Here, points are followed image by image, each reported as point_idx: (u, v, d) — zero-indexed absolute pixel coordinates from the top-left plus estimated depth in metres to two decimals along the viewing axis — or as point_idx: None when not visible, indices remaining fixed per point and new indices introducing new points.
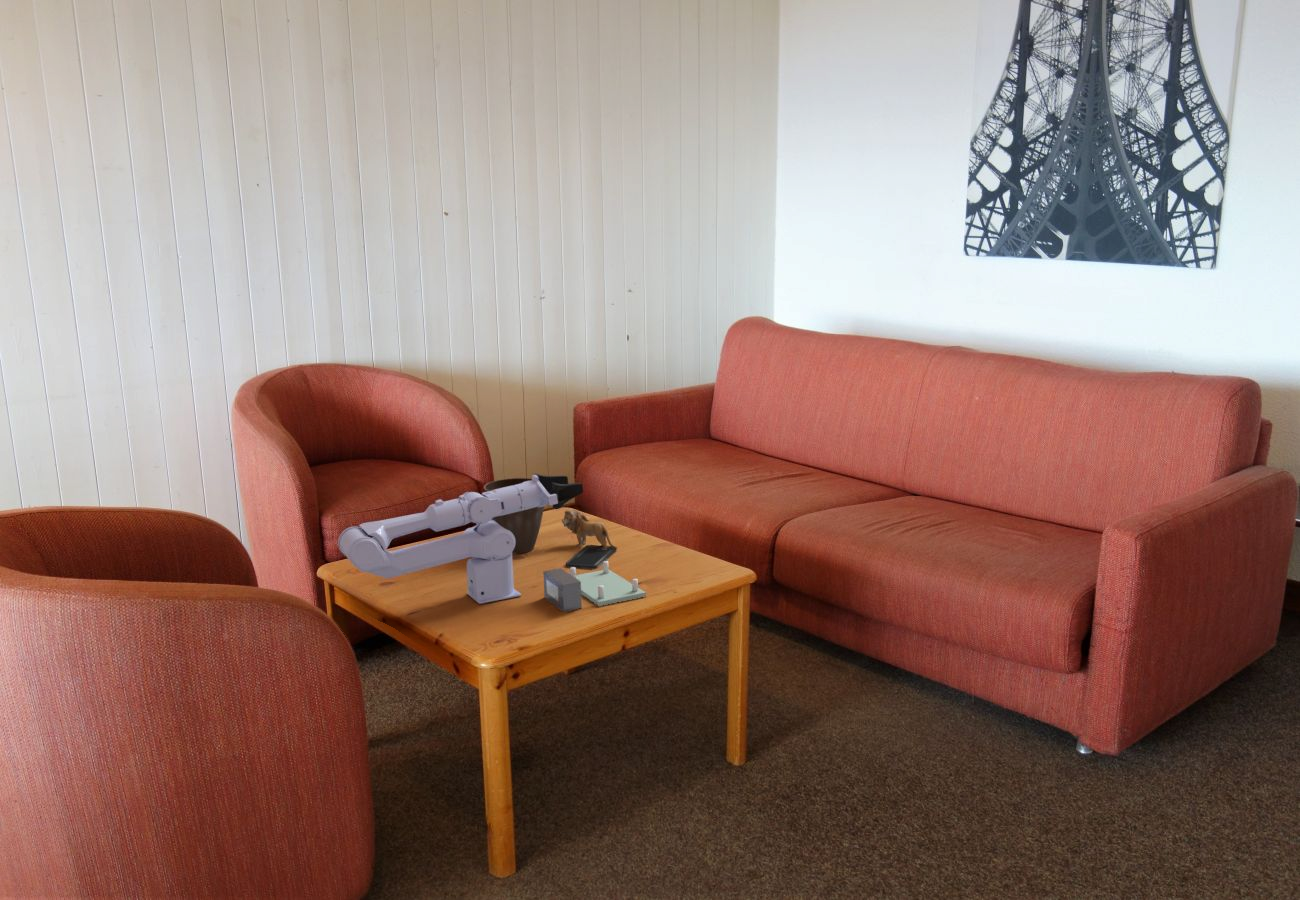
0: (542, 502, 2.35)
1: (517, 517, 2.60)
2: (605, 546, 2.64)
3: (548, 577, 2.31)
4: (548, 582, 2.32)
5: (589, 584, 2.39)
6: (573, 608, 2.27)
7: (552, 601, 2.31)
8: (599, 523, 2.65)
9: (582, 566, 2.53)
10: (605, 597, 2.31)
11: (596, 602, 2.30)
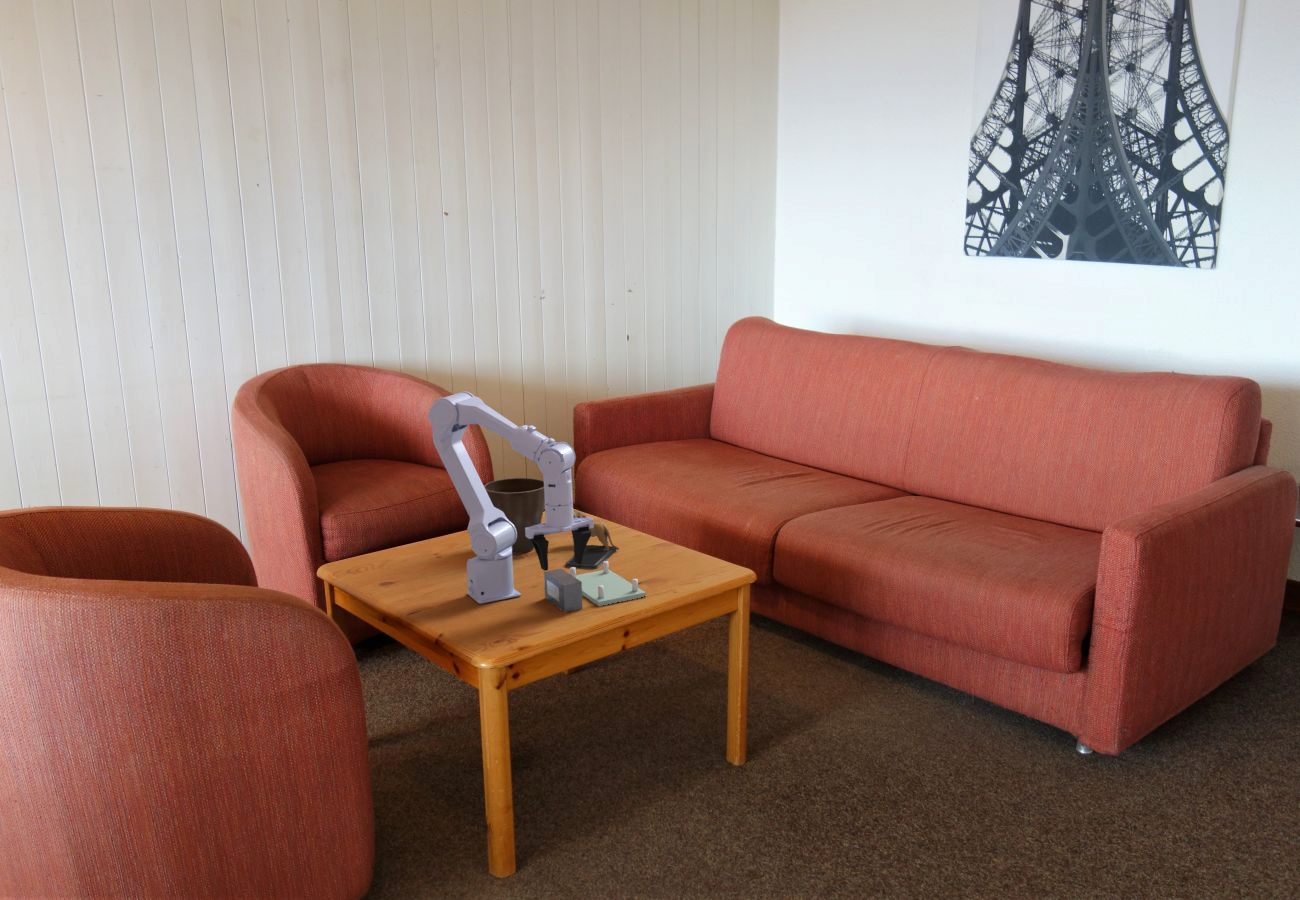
0: (544, 524, 2.28)
1: (517, 517, 2.60)
2: (607, 546, 2.64)
3: (549, 578, 2.31)
4: (549, 582, 2.31)
5: (589, 584, 2.39)
6: (574, 609, 2.27)
7: (553, 602, 2.31)
8: (601, 523, 2.65)
9: (582, 566, 2.53)
10: (605, 597, 2.31)
11: (596, 602, 2.30)
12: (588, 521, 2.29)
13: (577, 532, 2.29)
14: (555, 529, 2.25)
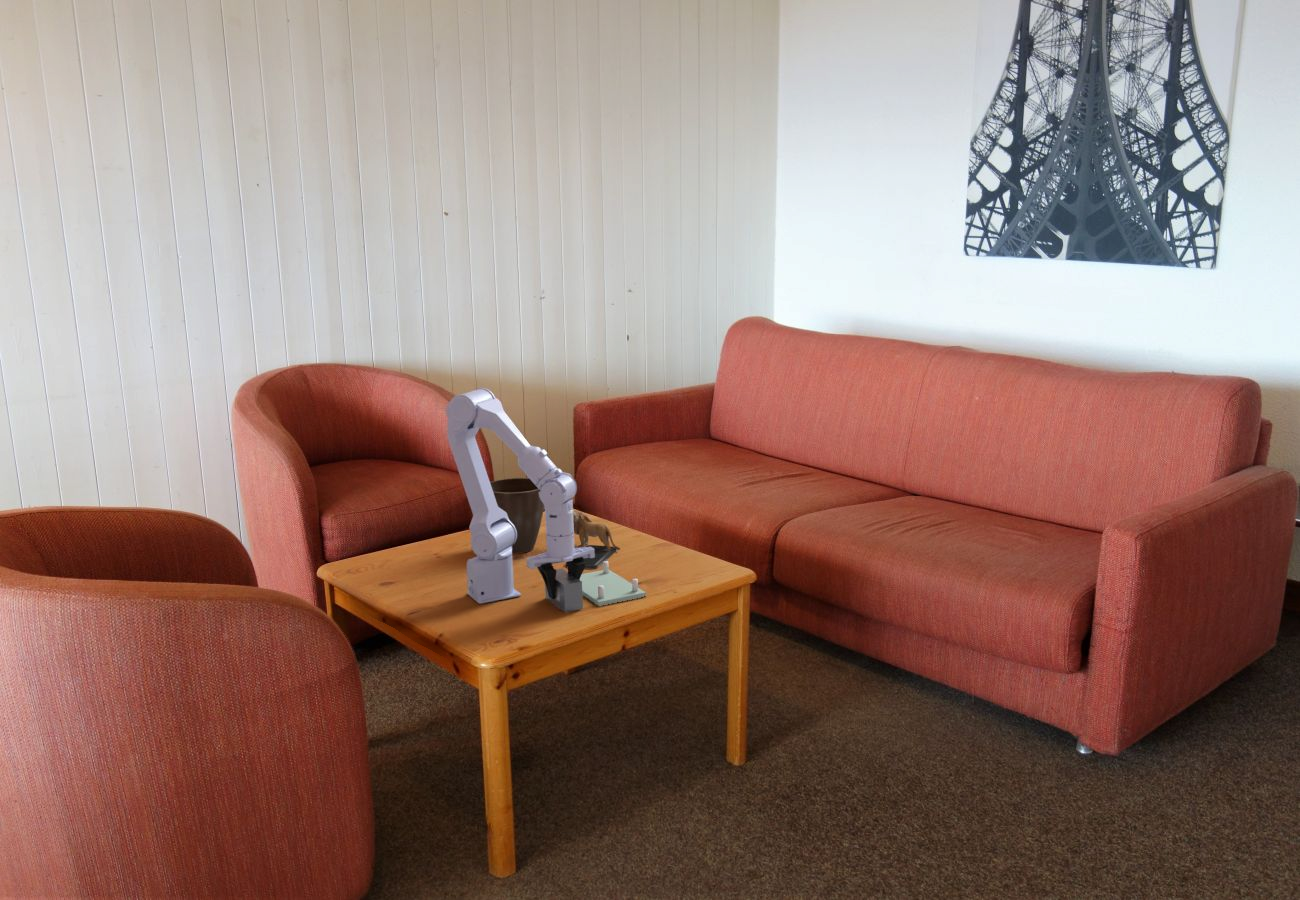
0: (545, 554, 2.29)
1: (517, 517, 2.60)
2: (608, 547, 2.63)
3: None
4: None
5: (589, 584, 2.39)
6: (574, 608, 2.26)
7: (553, 601, 2.30)
8: (602, 524, 2.65)
9: None
10: (605, 597, 2.31)
11: (596, 602, 2.30)
12: (589, 551, 2.31)
13: (572, 563, 2.30)
14: (556, 559, 2.26)
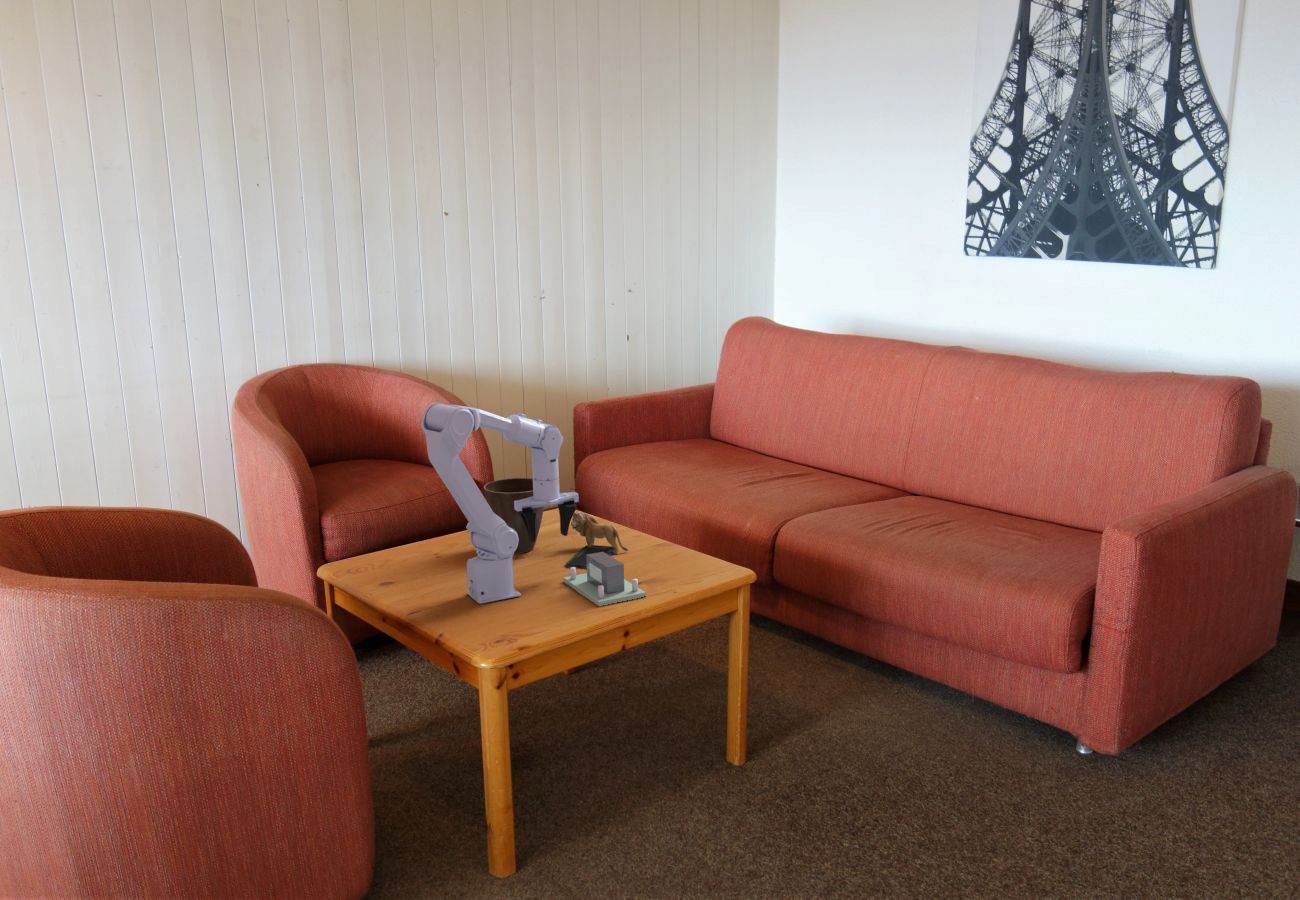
0: (532, 498, 2.43)
1: (517, 517, 2.60)
2: (616, 548, 2.62)
3: (592, 560, 2.38)
4: (591, 565, 2.38)
5: (589, 584, 2.39)
6: (616, 590, 2.34)
7: (595, 583, 2.38)
8: (609, 525, 2.63)
9: (582, 566, 2.53)
10: (605, 597, 2.31)
11: (596, 602, 2.30)
12: (573, 495, 2.45)
13: (563, 506, 2.45)
14: (542, 502, 2.40)
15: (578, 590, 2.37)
